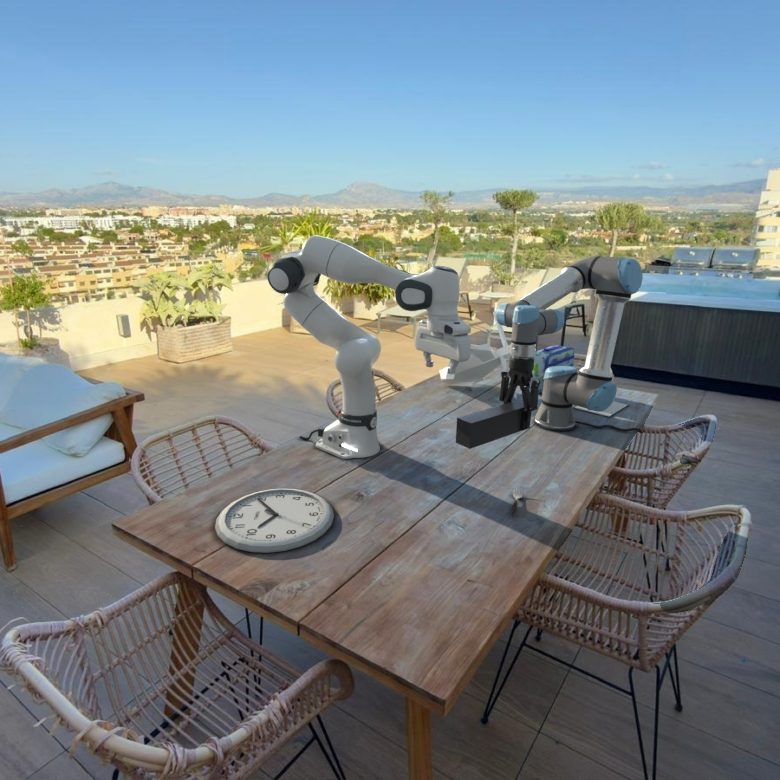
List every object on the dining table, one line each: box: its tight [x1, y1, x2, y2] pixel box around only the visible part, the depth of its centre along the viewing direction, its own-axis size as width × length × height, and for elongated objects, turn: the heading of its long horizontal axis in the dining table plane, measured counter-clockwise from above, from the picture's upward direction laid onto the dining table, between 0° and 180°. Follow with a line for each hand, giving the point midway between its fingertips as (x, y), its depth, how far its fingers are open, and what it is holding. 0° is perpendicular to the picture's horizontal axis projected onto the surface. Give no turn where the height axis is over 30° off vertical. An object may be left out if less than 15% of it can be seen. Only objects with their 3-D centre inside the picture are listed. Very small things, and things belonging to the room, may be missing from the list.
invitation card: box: [573, 400, 629, 418], centre depth 226 cm, size 21×1×15 cm
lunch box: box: [530, 345, 575, 394], centre depth 245 cm, size 26×11×21 cm, turn 134°
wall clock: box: [214, 488, 335, 554], centre depth 135 cm, size 30×2×30 cm
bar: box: [455, 399, 533, 450], centre depth 161 cm, size 28×6×8 cm, turn 128°
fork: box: [511, 484, 525, 517], centre depth 145 cm, size 3×16×2 cm, turn 160°
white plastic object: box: [438, 310, 525, 400], centre depth 245 cm, size 37×45×31 cm
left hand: (440, 370), depth 155 cm, fingers open, 8 cm apart
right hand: (515, 426), depth 168 cm, fingers closed on bar, 6 cm apart
